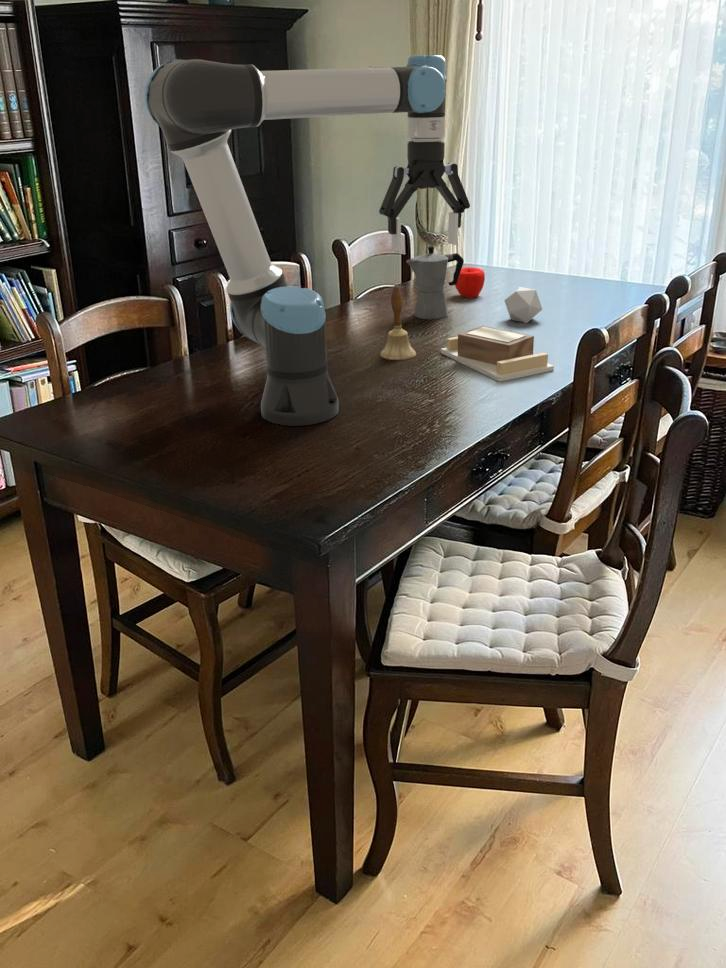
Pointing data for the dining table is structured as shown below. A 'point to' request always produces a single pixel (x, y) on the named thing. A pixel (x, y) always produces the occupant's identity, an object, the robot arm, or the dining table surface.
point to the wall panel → (502, 363)
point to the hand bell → (397, 333)
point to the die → (523, 304)
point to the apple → (470, 282)
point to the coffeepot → (433, 282)
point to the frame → (494, 344)
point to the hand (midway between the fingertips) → (424, 247)
